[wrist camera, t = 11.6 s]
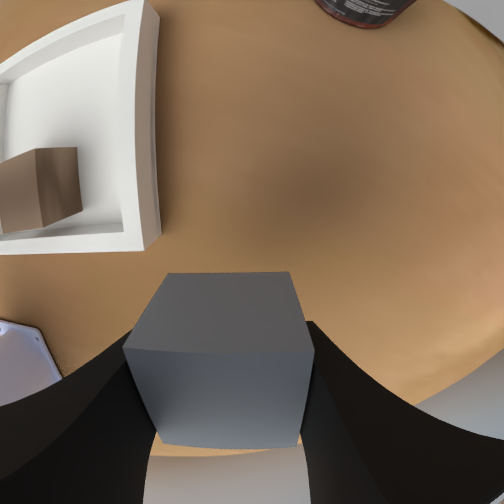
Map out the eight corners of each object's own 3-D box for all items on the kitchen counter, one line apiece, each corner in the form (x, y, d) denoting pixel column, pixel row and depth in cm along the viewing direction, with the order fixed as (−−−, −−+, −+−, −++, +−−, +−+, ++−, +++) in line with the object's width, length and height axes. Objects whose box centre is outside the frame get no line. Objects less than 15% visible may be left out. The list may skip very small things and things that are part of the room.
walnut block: (83, 211, 14) (43, 227, 10) (41, 217, 14) (2, 233, 10) (77, 147, 13) (34, 148, 9) (35, 160, 13) (-6, 165, 9)
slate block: (284, 363, 10) (296, 446, 6) (184, 363, 10) (162, 443, 6) (288, 271, 9) (314, 350, 5) (168, 273, 9) (122, 347, 5)
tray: (161, 234, 16) (144, 250, 13) (14, 242, 16) (-9, 255, 13) (160, 17, 11) (144, -4, 8) (9, 79, 11) (-15, 75, 8)
